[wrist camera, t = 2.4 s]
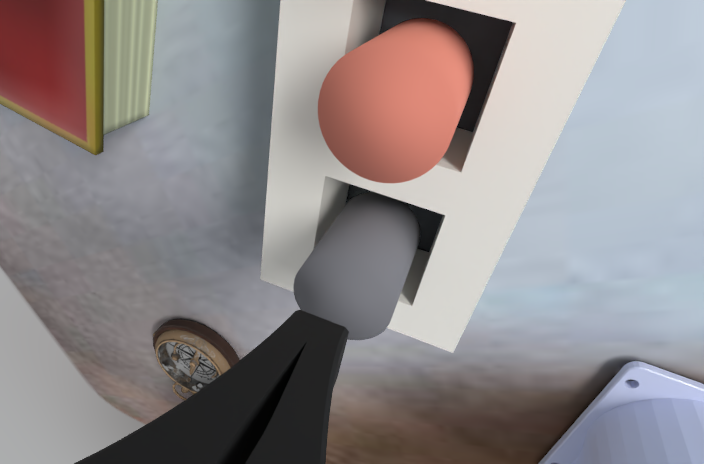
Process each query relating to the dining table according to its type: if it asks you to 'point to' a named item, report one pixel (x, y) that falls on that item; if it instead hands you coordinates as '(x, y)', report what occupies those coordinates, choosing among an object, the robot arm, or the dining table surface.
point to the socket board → (454, 167)
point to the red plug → (397, 100)
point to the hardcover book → (77, 64)
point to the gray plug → (360, 265)
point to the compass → (192, 354)
